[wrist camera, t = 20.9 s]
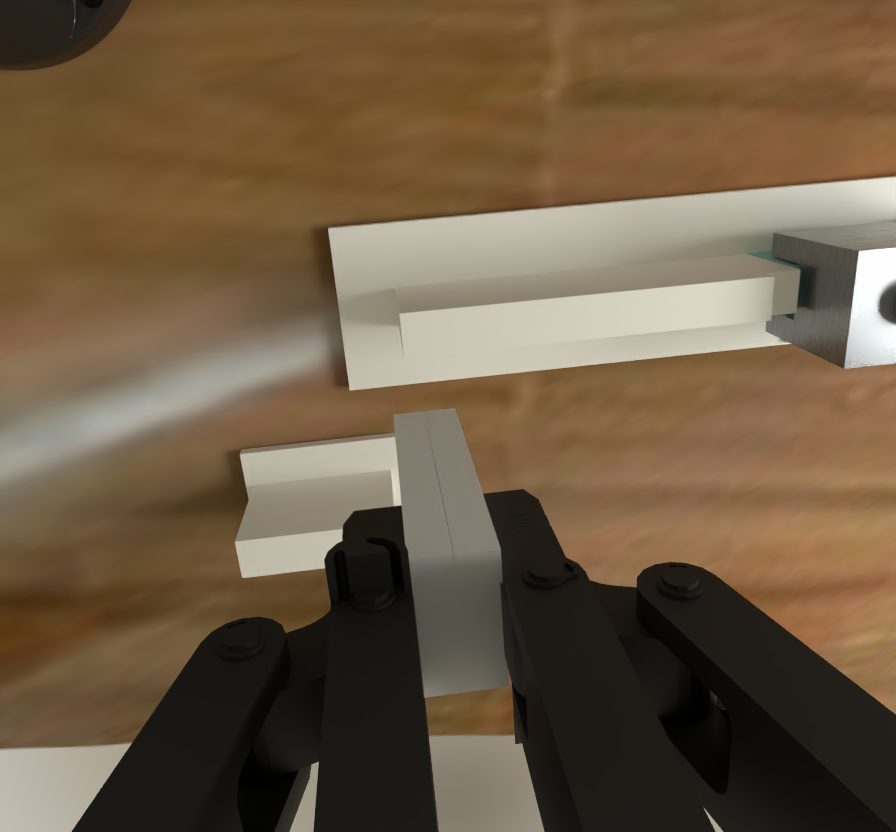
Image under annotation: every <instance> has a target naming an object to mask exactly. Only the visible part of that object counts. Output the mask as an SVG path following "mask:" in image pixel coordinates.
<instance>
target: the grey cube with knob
mask: <svg viewBox="0 0 896 832" xmlns="http://www.w3.org/2000/svg"><path fill="white" fill-rule="evenodd" d="M772 257H776V258H779V259H783V260H786V261H790V262H793V263H797V264H799V269H800V270H801V271H800V281H799V291H798V302H797V312H796V313H790V314H781V315H772V317H771V321H766V329H765V331H766V332H768V333H770V334H772V335H774V336H776V337H778V338H781V339H783V340H785V341H787V342H789V343H791V344H793V345H795V346H797V347H800V348H802V349H804V350H806V351H808V352H810V353H812V354H814V355H816V356H819V357H821V358H823V359H825V360H827V361H829V362H831V363H833V364H835V365H838V366H840V367H842V368H844V369H846V368H855V367H864V366H873V365H883V364H892V363H896V223H891V222H879V223H868V224H857V225H847V226H836V227H825V228H815V229H804V230H794V231H783V232H774V233H773V245H772Z"/></svg>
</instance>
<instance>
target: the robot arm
mask: <svg viewBox="0 0 896 832" xmlns="http://www.w3.org/2000/svg"><path fill="white" fill-rule="evenodd" d="M130 2H131V0H0V69H6V70H32V69H41V68H46V67H51V66H54V65H58V64H61V63H64V62H66V61H69V60H72V59H74V58H76V57H78V56H80V55H81V54H83V53H85V52H86V51H88V50H90V49H91V48H92V47H94V46H95V45H96V44H98V43H99V42H100V41H101V40H102V39H103V38H104V37H106V36H107V35H108V33H109V32H110V31H111V30H112V29H113V28H114V27H115V26H116V24H117V23H118V22H119V20H120V19H121V17H122V16H123V14H124V13H125V11H126V10H127V8H128V6H129V4H130ZM393 417H394V428H395V439H396V450H397V461H398V472H399V483H400V494H401V505H400V506H391V507H383V508H374V509H366V510H357V511H354V512H353V513H352V514H351V515H350V517H349V518H348V519H347V520H346V521H345V523H344V524H343V533H342V541H341V542H339V543H337V544H336V545H335V546H334V547H332V548H331V549H330V550H329V551H328V552H327V555H326V557H325V559H324V563H325V569H326V576H327V582H328V588H329V594H330V600H331V610H330V611H329V612H328V613H327V614H326V615H325V616H324V617H322V618H321V619H319V620H317V621H316V622H314V623H312V624H310V625H307V626H305V627H303V628H300V629H297V630H294V631H291V632H288V633H285V631H284V628H283V626H282V625H281V624H279V623H278V622H276V621H274V620H273V619H268V618H262V617H252V618H242V619H239V620H236V621H232V622H230V623H227V624H225V625H223V626H221V627H219V628H218V629H216V630H214V631H213V632H211V633H210V634H209V635H208V636H207V637H206V638H205V639H204V640H203V641H202V642H201V643H200V645H199V646H198V648H197V649H196V651H195V652H194V654H193V655H192V657H191V658H190V659H189V661H188V662H187V664H186V665H185V667H184V668H183V670H182V671H181V673H180V674H179V676H178V677H177V678H176V680H175V681H174V683H173V684H172V686H171V687H170V689H169V690H168V692H167V693H166V695H165V696H164V697H163V699H162V700H161V702H160V703H159V705H158V706H157V708H156V709H155V711H154V712H153V714H152V715H151V716H150V718H149V719H148V721H147V722H146V724H145V725H144V727H143V728H142V730H141V731H140V733H139V734H138V735H137V737H136V738H135V740H134V741H133V743H132V744H131V746H130V747H129V749H128V750H127V751H126V753H125V754H124V756H123V757H122V759H121V760H120V762H119V763H118V765H117V766H116V768H115V769H114V770H113V772H112V773H111V775H110V776H109V778H108V779H107V781H106V782H105V784H104V785H103V787H102V788H101V789H100V791H99V792H98V794H97V795H96V797H95V799H94V800H93V801H92V803H91V804H90V806H89V807H88V808H87V810H86V811H85V813H84V814H83V816H82V817H81V819H80V820H79V822H78V823H77V825H76V826H75V828H74V829H73V830H72V832H289V831H290V828H291V826H292V823H293V821H294V818H295V815H296V812H297V810H298V807H299V804H300V802H301V799H302V796H303V794H304V791H305V789H306V786H307V783H308V781H309V778H310V770H311V764H313V763H316V762H318V761H319V768H318V782H317V794H316V807H315V820H314V832H439V830H438V820H437V810H436V801H435V791H434V783H433V772H432V763H431V754H430V745H429V734H428V725H427V716H426V707H425V698H427V697H434V696H441V695H449V694H456V693H463V692H471V691H478V690H485V689H493V688H500V687H508V686H509V678H508V670H509V673H510V677H511V681H512V692H513V709H514V727H515V744H519V743H522V744H523V748H524V752H525V756H526V759H527V764H528V768H529V771H530V775H531V780H532V783H533V787H534V791H535V796H536V800H537V804H538V808H539V811H540V815H541V819H542V823H543V827H544V831H545V832H715V830H714V828H713V826H712V824H711V822H710V820H709V818H708V816H707V814H706V812H705V810H704V808H705V809H706V811H707V812H708V813H709V814H710V816H711V817H712V818H713V819H714V820H715V822H716V823H717V824H718V825H719V827H721V829H722V830H723V831H724V832H896V714H894V713H893V712H892V711H890V710H889V709H888V708H886V707H885V706H884V705H883V704H881V703H880V702H879V701H877V700H876V699H875V698H874V697H872V696H871V695H870V694H868V693H867V692H866V691H865V690H863V689H862V688H861V687H859V686H858V685H857V684H855V683H854V682H853V681H852V680H850V679H849V678H848V677H846V676H845V675H844V674H843V673H841V672H840V671H839V670H837V669H836V668H835V667H833V666H832V665H831V664H830V663H828V662H827V661H826V660H824V659H823V658H822V657H821V656H819V655H818V654H817V653H815V652H814V651H813V650H811V649H810V648H809V647H808V646H806V645H805V644H804V643H802V642H801V641H800V640H799V639H797V638H796V637H795V636H793V635H792V634H791V633H789V632H788V631H787V630H786V629H784V628H783V627H782V626H780V625H779V624H778V623H777V622H775V621H774V620H773V619H771V618H770V617H769V616H767V615H766V614H765V613H764V612H762V611H761V610H760V609H758V608H757V607H756V606H755V605H753V604H752V603H751V602H749V601H748V600H747V599H745V598H744V597H743V596H742V595H740V594H739V593H738V592H736V591H735V590H734V589H733V588H731V587H730V586H729V585H727V584H726V583H725V582H723V581H722V580H721V579H720V578H718V577H717V576H716V575H714V574H712V573H711V572H709V571H707V570H705V569H703V568H701V567H698V566H694V565H691V564H687V563H680V562H678V563H676V562H668V563H661V564H655V565H653V566H651V567H648V568H646V569H644V570H643V571H642V572H641V573H640V575H639V576H638V577H637V587H624V586H612V585H606V584H600V583H597V582H594V581H590V580H589V578H588V576H587V574H586V572H585V571H584V570H583V568H582V567H581V566H580V565H579V564H578V563H576V562H574V561H572V560H570V559H568V558H566V557H565V555H564V552H563V550H562V548H561V546H560V544H559V542H558V540H557V538H556V536H555V534H554V531H553V529H552V527H551V526H550V524H549V521H548V519H547V517H546V515H545V513H544V510H543V508H542V506H541V504H540V502H539V500H538V499H537V498H535V497H534V496H532V495H531V494H529V493H528V492H526V491H525V490H523V489H521V490H512V491H504V492H495V493H487V494H483V493H482V490H481V487H480V484H479V481H478V477H477V474H476V471H475V468H474V465H473V462H472V459H471V456H470V453H469V450H468V447H467V444H466V441H465V438H464V434H463V431H462V428H461V425H460V422H459V419H458V416H457V413H456V410H455V408H450V409H441V410H432V411H422V412H413V413H404V414H395V415H393ZM703 807H704V808H703Z"/></svg>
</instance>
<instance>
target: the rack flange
mask: <svg viewBox="0 0 896 832" xmlns="http://www.w3.org/2000/svg"><path fill="white" fill-rule="evenodd" d="M879 222H891V223H896V176H887V177H876V178H865V179H854V180H843V181H832V182H821V183H810V184H799V185H788V186H777V187H766V188H754V189H743V190H732V191H721V192H710V193H699V194H688V195H677V196H666V197H655V198H644V199H633V200H622V201H611V202H600V203H589V204H578V205H567V206H556V207H545V208H534V209H523V210H512V211H501V212H490V213H479V214H468V215H456V216H445V217H434V218H423V219H412V220H401V221H390V222H379V223H368V224H357V225H346V226H335V227H329V228H328V232H329V239H330V247H331V254H332V262H333V269H334V277H335V284H336V292H337V299H338V307H339V314H340V322H341V329H342V337H343V344H344V352H345V359H346V366H347V374H348V381H349V389H350V390H359V389H368V388H377V387H387V386H396V385H406V384H415V383H425V382H434V381H444V380H453V379H462V378H472V377H481V376H491V375H500V374H510V373H519V372H528V371H538V370H547V369H557V368H566V367H576V366H585V365H594V364H604V363H613V362H623V361H632V360H642V359H651V358H660V357H670V356H679V355H689V354H698V353H708V352H717V351H726V350H736V349H745V348H755V347H764V346H774V345H783V344H791V343H789V342H787V341H785V340H783V339H781V338H778V337H776V336H774V335H772V334H770V333H768V332H766V331H765V329H766V321H771V317H772V315H781V314H790V313H796V312H797V302H798V291H799V281H800V271H801V270H800V269H799V264H797V263H793V262H790V261H786V260H783V259H779V258H776V257H772V245H773V233H774V232H783V231H794V230H804V229H815V228H825V227H836V226H847V225H857V224H868V223H879Z"/></svg>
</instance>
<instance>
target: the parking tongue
mask: <svg viewBox="0 0 896 832" xmlns="http://www.w3.org/2000/svg"><path fill="white" fill-rule="evenodd" d="M240 458H241V464H242V469H243V474H244V479H245V484H246V489H247V494H248V499H249V501H248V504H247V507H246V510H245V513H244V516H243V519H242V522H241V525H240V528H239V531H238V534H237V537H236V540H235V545H236V550H237V555H238V559H239V564H240V569H241V574H242V578H247V577H256V576H264V575H272V574H280V573H288V572H296V571H305V570H313V569H321V568H325V563H324V559H325V557H326V555H327V552H328V551H329V550H330V549H331V548H332V547H334V546H335V545H336V544H337V543H339V542H341V541H342V533H343V524H344V523H345V521H346V520H347V519H348V518H349V517H350V515H351V514H352V513H353V512H354V511H357V510H366V509H374V508H383V507H391V506H400V505H401V494H400V483H399V472H398V461H397V451H396V442H395V433H385V434H376V435H367V436H358V437H349V438H340V439H331V440H322V441H313V442H304V443H295V444H286V445H276V446H267V447H258V448H249V449H242V450H241V452H240Z"/></svg>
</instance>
